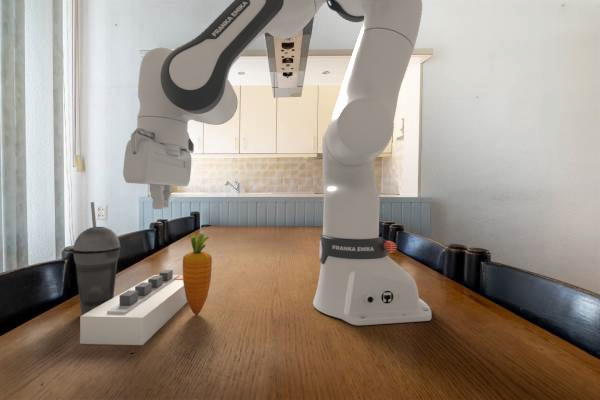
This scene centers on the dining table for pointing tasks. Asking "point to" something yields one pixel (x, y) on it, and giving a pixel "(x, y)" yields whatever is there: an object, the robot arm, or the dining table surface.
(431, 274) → the dining table surface
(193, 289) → the carrot
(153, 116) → the robot arm
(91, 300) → the beverage cup
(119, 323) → the breaker panel
